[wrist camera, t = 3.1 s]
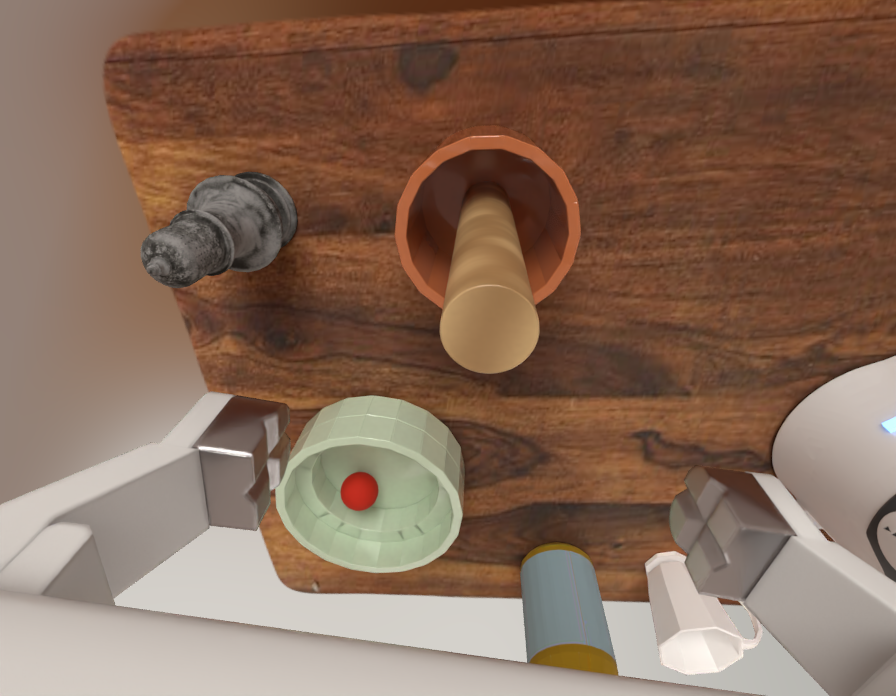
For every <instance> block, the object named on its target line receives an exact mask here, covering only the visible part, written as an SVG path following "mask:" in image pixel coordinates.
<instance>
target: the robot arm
mask: <svg viewBox="0 0 896 696" xmlns="http://www.w3.org/2000/svg"><path fill="white" fill-rule="evenodd" d="M289 422H290V413H289V407H288V405H287V404H285V403H279V402H273V401H267V400H261V399H256V398H250V397H244V396H238V395H237V396H235V395H231V394H224V393H218V392H209V393H206V394H204V395H203V396H202V397H201V398H200V400H199V401H198V402H197V403H196V404H195V405H194V406H193V407H192V408H191V410H190V411H189V412H188V413H187V414H186V415H185V416H184V417H183V418H182V420H180V421H179V423H178V424H177V425H176V426H175V427H174V428H173V429H172V430H171V431H170V432H169V434H168V435H167V436H166V437H165V438H164V439H163V440H162V441H161V442H160V443H153V442H150V443H148V444H146V445H144V446H141V447H138V448H136V449H134V450H131V451H129V452H126V453H124V454H121V455H119V456H117V457H114V458H112V459H109V460H107V461H105V462H102V463H100V464H97V465H95V466H92V467H90V468H88V469H85V470H83V471H80V472H78V473H76V474H73V475H71V476H68V477H66V478H63V479H61V480H59V481H56V482H54V483H51V484H49V485H47V486H44V487H42V488H39V489H37V490H34V491H32V492H30V493H27V494H25V495H22V496H20V497H18V498H15V499H13V500H10V501H8V502H5V503H3V504H0V696H763V695H756V694H749V693H742V692H735V691H727V690H720V689H713V688H706V687H698V686H691V685H683V684H676V683H669V682H662V681H655V680H647V679H640V678H633V677H625V676H618V675H611V674H604V673H596V672H589V671H582V670H575V669H568V668H560V667H553V666H546V665H539V664H532V663H525V662H517V661H510V660H503V659H495V658H489V657H481V656H474V655H467V654H460V653H453V652H446V651H439V650H431V649H424V648H417V647H410V646H403V645H395V644H388V643H381V642H374V641H366V640H359V639H352V638H345V637H338V636H330V635H323V634H316V633H309V632H301V631H295V630H287V629H280V628H273V627H265V626H258V625H251V624H244V623H237V622H230V621H223V620H215V619H207V618H201V617H193V616H186V615H179V614H172V613H165V612H158V611H150V610H143V609H136V608H128V607H122V606H116V605H115V602H114V600H113V598H115V597H116V596H118V595H119V594H120V593H122V592H123V591H124V590H126V589H127V588H128V587H130V586H131V585H132V584H134V583H135V582H137V581H138V580H139V579H141V578H142V577H143V576H145V575H146V574H147V573H149V572H150V571H152V570H153V569H154V568H156V567H157V566H158V565H160V564H161V563H163V562H164V561H165V560H167V559H168V558H169V557H171V556H172V555H174V553H176V552H178V551H179V550H180V549H182V548H183V547H184V546H186V545H187V544H189V543H190V542H191V541H192V540H194V539H195V538H197V537H198V536H199V535H201V534H202V533H203V532H205V531H206V530H207V529H209V525H211V526H218V527H227V528H236V529H245V530H253V531H256V530H257V529H258V527H259V525H260V523H261V521H262V519H263V517H264V515H265V513H266V511H267V509H268V507H269V505H270V503H271V500H270V491H271V490H273V489H274V488H276V487H278V486H279V485H280V483H281V481H282V479H283V477H284V475H285V472H286V468H287V465H288V462H289V456H290V438H289V437H288V435H287V434H286V433H285V432H284V431H285V429H286V427H287V426H288V424H289ZM772 463H773V468H774V471H775V473H776V475H777V477H778V479H777V478H776V477H774V476H773V475H770V474H762V473H754V472H740V471H733V470H726V469H719V468H713V467H706V466H699V465H695V466H694V467H692V468H691V469H690V470H689V471H688V473H687V475H686V477H685V479H684V481H685V484H686V487H687V489H686V490H684V491H682V492H681V493H679V494H678V495H676V496H675V498H674V500H673V502H672V505H671V507H670V514H669V524H670V530H671V533H672V536H673V538H674V540H675V543H676V544H677V545H678V546H679V547H681V548H682V549H683V550H684V551H685V552H686V553H687V557H686V560H685V562H684V563H685V565H686V568H687V570H688V572H689V574H690V576H691V579H692V581H693V583H694V585H695V588H696V590H697V592H698V594H701V595H707V596H712V597H718V598H724V599H730V600H736V601H742V602H744V603H743V605H744V606H745V607H746V608H747V609H748V610H749V611H750V612H751V613H752V614H753V615H754V616H755V618H756V619H757V620H758V621H759V622H760V623H761V624H763V626H764V627H765V628H766V629H767V630H768V631H769V632H770V633H771V634H772V635H773V637H774V638H775V639H776V640H777V641H778V642H779V643H780V644H781V645H782V646H783V647H784V648H785V649H786V650H787V651H788V652H789V653H790V654H791V656H793V658H794V659H795V660H796V661H797V662H798V663H799V664H800V665H801V666H802V667H803V668H804V669H805V670H806V671H807V672H808V673H809V674H810V676H811V677H813V679H814V680H815V681H816V682H817V683H818V684H819V685H820V686H821V687H822V688H823V689H824V690H825V691H826V692H827V693H828V695H829V696H896V355H895V356H893V357H891V358H888V359H885V360H883V361H879V362H876V363H873V364H870V365H866V366H863V367H860V368H857V369H855V370H852V371H850V372H847V373H845V374H843V375H841V376H839V377H837V378H835V379H833V380H831V381H829V382H828V383H826V384H824V385H823V386H821V387H820V388H818V389H817V390H815V391H814V392H813V393H811V394H810V395H809V396H808V397H806V398H805V399H804V400H803V401H802V402H801V403H800V404H799V405H798V406H797V407H796V408H795V409H794V410H793V411H792V412H791V413H790V414H789V416H788V417H787V418H786V420H785V421H784V423H783V424H782V426H781V428H780V430H779V431H778V434H777V436H776V439H775V441H774V445H773V450H772ZM785 487H786V488H787V489H788V490H789V491H790V492H791V493H792V494H793V495H794V496H795V498H796V500H797V501H796V500H795V499H794V498H793V496H792V495H791V494H790V493H789V491H788V490H787V489H786V488H785ZM819 529H824V530H825V531H826V532H827V534H828V535H829V536H830V537H831V538H832V539H833V540H834V541H835V542H830V541H828V540H827V539H826V538H825V537H824V535H823V534H822V533H821V532H820V530H819Z"/></svg>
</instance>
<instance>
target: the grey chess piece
mask: <svg viewBox="0 0 896 696" xmlns="http://www.w3.org/2000/svg"><path fill="white" fill-rule="evenodd" d="M296 226H297V212H296V208H295V205H294V202H293V200H292V198H291V197H290V195H289V193H288V192H287V190H286V189H285V188H284V187H283V186H282V185H281V184H280V183H279V182H277V181H276V180H274V179H273V178H271V177H269V176H267V175H264V174H261V173H258V172H245V173H240V174H237V175H235V176H226V175H219V176H215V177H210V178H207V179H206V180H204V181H202V182H201V183H199V184H198V185H197V186H196V187H195V189H194V190H193V191H192V192H191V194H190V197H189V200H188V203H187V210H185V211H182V212H180V213H179V214H177V215H175V217H174V218H173V219H172V221H171V223H170V225H169V226H167V227H165V228H162V229H160V230H158V231H155V232H153V233H152V234H150V235H149V236H148V237H147V238H146V239H145V241H144V242H143V244H142V247H141V258H142V262H143V265H144V267H145V269H146V270H147V272H148V273H149V274H150V276H152V277H153V278H154V279H155V280H156V281H158V282H160V283H162V284H163V285H166V286H169V287H172V288H182V287H187V286H190V285H192V284H193V283H195V282H197V281H198V280H200V279H201V278H203V277H204V276H206V275H208V276H214V275H219V274H221V273H223V272H225V271H227V270H228V269H231V270H234V271H240V272H251V271H256V270H260V269H261V268H263V267H265V266H267V265H269V264H270V263H271V262H272V261H273V260H274V259H275V258H276V256H277V254H278V252H279V250H280V248H281V247H283V246H285V245H286V244H287V243H288V242H289V241H290V240H291V239H292V237H293V235H294V233H295V231H296Z"/></svg>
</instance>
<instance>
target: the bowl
mask: <svg viewBox="0 0 896 696" xmlns="http://www.w3.org/2000/svg"><path fill="white" fill-rule="evenodd" d="M355 472H366V473H368V474H370V475H371V476H373V477H374V479H375V480H376V482H377V484H378V489H379V492H378V497H377V499H376V501H375V503H374V504H373V505H372V506H371V507H369V508H368V509H366V510H362V511H355V510H352V509H349V508H348V507H347V506H346V505H345V504H344V503H343V501H342V499H341V493H340V492H341V486H342V484H343V482H344V480H345V479H346V478H347V477H348V476H349V475H351V474H353V473H355ZM464 478H465V466H464V461H463V456H462V451H461V447H460V445H459V444H458V442H457V441H456V439H455V438H454V436H453V434H452V433H451V431H450V430H449V428H448V427H447V426H446V425H444V424H443V423H442V422H441V421H439V420H438V419H437V418H436V417H435V416H433V415H432V414H431V413H430V412H428V411H427V410H425V409H422V408H420V407H418V406H415V405H413V404H411V403H409V402H406V401H404V400H401V399H394V398H388V397H381V396H375V395H374V396H373V395H371V396H362V397H353V398H346V399H343V400H341V401H339V402H336V403H334V404H332V405H330V406H327V407H325V408H323V409H321V410H320V411H319V412H318V413H317V414H316V415H315V416H314V417H313V418H312V419H311V420H310V421H309V422H308V423H307V424H306V425H305V427H304V429H303V431H302V433H301V435H300V437H299V439H298V440H297V442H296V444H295V446H294V448H293V450H292V452H291V454H290V456H289V462H288V465H287V468H286V472H285V475H284V477H283V479H282V481H281V483H280V485H279V486H278V487H276V488H275V490H276V507H277V510H278V512H279V515H280V517H281V519H282V521H283V523H284V525H285V527H286V529H287V530H288V531H289V532H290V533H291V534H292V535H293V536H294V537H295V538H296V539H297V540H298V541H299V543H300V544H301V545H303V546H304V547H305V548H307V549H308V550H310V551H312V552H313V553H315V554H316V555H318V556H319V557H321V558H322V559H325V560H326V561H329V562H332V563H335V564H337V565H340V566H343V567H346V568H348V569H352V570H358V571H365V572H372V573H387V572H402V571H407V570H410V569H413V568H417V567H420V566H423V565H426V564H428V563H430V562H431V561H433V560H434V559H436V558H437V557H439V556H441V555H442V554H444V553H445V552H446V551H447V549H448V548H449V547H450V545H451V544H452V543H453V541H454V540H455V539H456V537H457V536H458V534H459V530H460V525H461V521H462V516H463V500H464Z"/></svg>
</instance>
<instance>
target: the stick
mask: <svg viewBox="0 0 896 696" xmlns="http://www.w3.org/2000/svg"><path fill="white" fill-rule="evenodd" d="M539 330H540V326H539V319H538V315H537V311H536V307H535V303H534V299H533V295H532V291H531V287H530V283H529V279H528V275H527V271H526V266H525V262H524V258H523V254H522V250H521V246H520V242H519V238H518V234H517V230H516V226H515V222H514V218H513V214H512V210H511V206H510V202H509V198H508V195H507V193H506V191H505V190H504V189H503V188H502V187H501V186H500V185H498V184H496V183H494V182H490V181H483V182H479V183H476V184H474V185H473V186H471V187H470V188H469V189H468V190H467V192H466V193H465V195H464V198H463V201H462V207H461V212H460V217H459V223H458V228H457V234H456V239H455V245H454V250H453V256H452V261H451V266H450V272H449V277H448V283H447V288H446V294H445V299H444V304H443V310H442V315H441V321H440V337H441V341H442V344H443V346H444V348H445V350H446V352H447V353H448V354H449V356H450V357H451V358H452V359H453V360H454V361H455V362H457V363H458V364H459V365H461V366H462V367H464V368H466V369H468V370H471V371H474V372H478V373H486V374H493V373H500V372H504V371H507V370H510V369H512V368H514V367H516V366H518V365H519V364H521V363H522V362H523V361H524V360H526V359H527V357H528V356H529V355H530V354H531V353H532V351H533V350H534V348H535V346H536V344H537V341H538V337H539Z"/></svg>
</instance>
